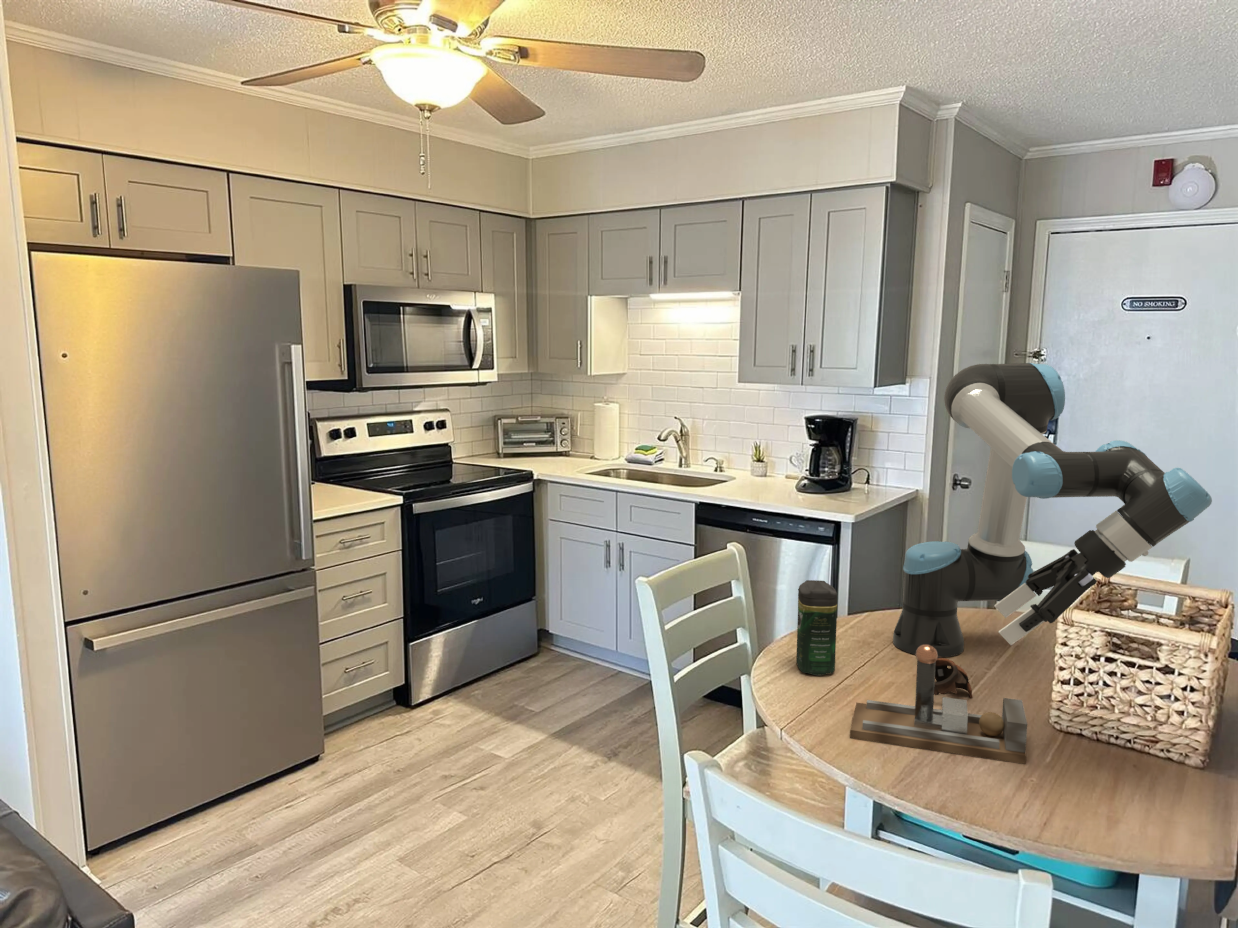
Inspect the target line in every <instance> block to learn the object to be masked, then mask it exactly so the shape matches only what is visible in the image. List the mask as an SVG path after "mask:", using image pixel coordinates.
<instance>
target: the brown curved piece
mask: <svg viewBox="0 0 1238 928" xmlns="http://www.w3.org/2000/svg"><path fill="white" fill-rule="evenodd" d="M969 680H970V679H969V676H968V673H967V672H966V670H964V669H963V668H962V667H961V666H960V665H958V664H956V663H955V662H954V661H953V660H951V659H950V658H947V657H941V656H938V657H937V660H936V663H935V683H934V696H939V695H945V694H949V693H953V694H958V692H957V689H961V690H964V691H966V692H967V693H968V694H969V698H970V699H972V698H973V689H972V686H971V683H970V681H969Z"/></svg>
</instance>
